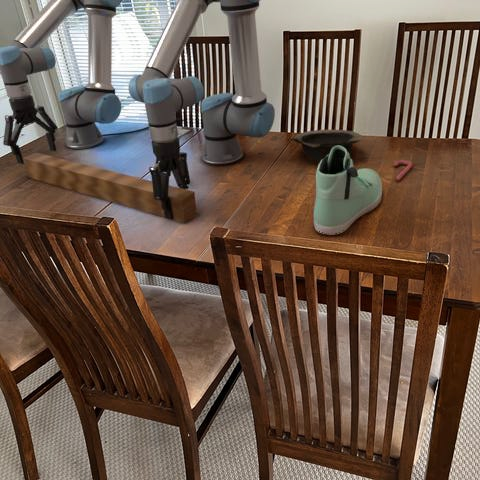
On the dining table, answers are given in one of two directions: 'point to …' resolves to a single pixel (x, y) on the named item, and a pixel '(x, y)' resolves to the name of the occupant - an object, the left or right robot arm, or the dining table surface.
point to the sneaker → (343, 192)
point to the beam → (109, 186)
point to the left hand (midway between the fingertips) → (37, 156)
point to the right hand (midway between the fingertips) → (176, 213)
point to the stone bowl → (325, 142)
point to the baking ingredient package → (181, 132)
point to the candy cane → (404, 169)
